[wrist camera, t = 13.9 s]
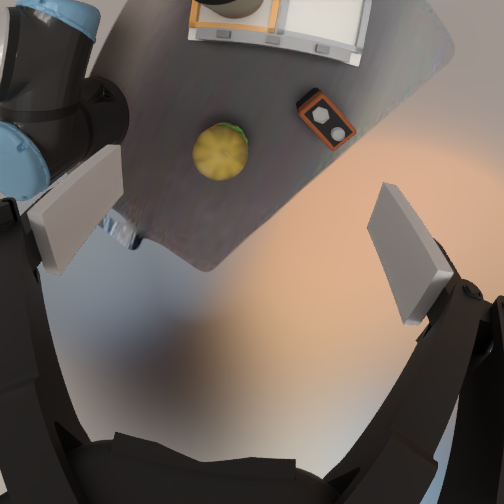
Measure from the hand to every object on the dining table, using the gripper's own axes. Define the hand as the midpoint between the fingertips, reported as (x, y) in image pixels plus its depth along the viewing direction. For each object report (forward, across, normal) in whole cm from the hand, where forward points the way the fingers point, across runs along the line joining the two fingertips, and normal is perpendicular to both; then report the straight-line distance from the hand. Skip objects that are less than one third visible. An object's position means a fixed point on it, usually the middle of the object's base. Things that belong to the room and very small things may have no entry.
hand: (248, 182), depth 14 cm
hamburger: (+34, -4, -8) cm, 35 cm away
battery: (+34, +9, -2) cm, 35 cm away
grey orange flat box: (+34, 0, +14) cm, 37 cm away
